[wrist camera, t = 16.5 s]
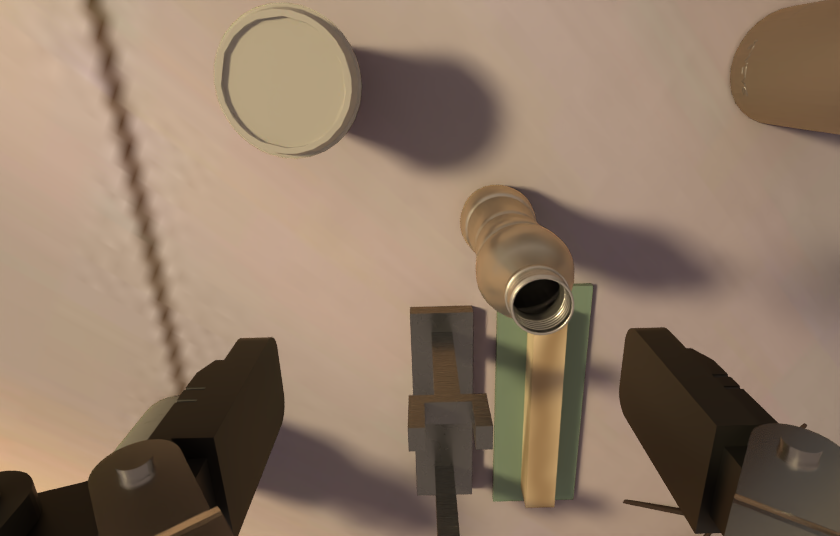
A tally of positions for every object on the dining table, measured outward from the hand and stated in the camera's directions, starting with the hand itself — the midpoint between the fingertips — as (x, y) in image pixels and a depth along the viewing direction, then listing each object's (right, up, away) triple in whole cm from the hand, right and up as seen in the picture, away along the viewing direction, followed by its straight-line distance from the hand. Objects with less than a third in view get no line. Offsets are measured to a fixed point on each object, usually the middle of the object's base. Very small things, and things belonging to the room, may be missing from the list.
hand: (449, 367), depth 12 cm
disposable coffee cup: (-9, +18, +32) cm, 38 cm away
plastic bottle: (+6, +7, +36) cm, 37 cm away
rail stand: (+2, -12, +43) cm, 44 cm away
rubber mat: (+12, -11, +43) cm, 46 cm away
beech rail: (+12, -12, +42) cm, 45 cm away
